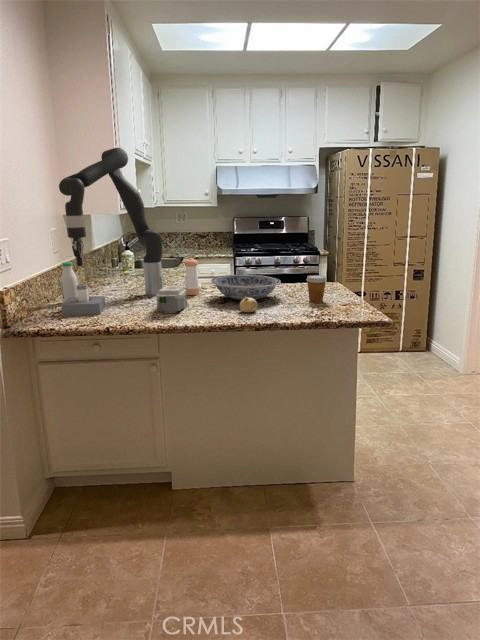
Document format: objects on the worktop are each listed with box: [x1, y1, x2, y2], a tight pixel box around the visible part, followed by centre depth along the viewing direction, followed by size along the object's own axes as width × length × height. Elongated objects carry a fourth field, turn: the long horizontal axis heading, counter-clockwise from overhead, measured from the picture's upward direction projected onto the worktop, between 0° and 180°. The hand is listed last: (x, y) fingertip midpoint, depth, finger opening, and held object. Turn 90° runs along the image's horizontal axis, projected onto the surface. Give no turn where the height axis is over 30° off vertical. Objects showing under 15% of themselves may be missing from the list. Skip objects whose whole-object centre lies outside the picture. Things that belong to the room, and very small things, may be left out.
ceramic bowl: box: [210, 274, 282, 301], centre depth 227 cm, size 34×34×10 cm
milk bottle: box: [60, 261, 79, 304], centre depth 224 cm, size 8×8×20 cm
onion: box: [239, 297, 259, 313], centre depth 201 cm, size 8×8×7 cm
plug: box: [76, 283, 90, 302], centre depth 207 cm, size 4×4×12 cm
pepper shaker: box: [183, 257, 200, 296], centre depth 239 cm, size 7×7×19 cm
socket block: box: [61, 295, 106, 317], centre depth 208 cm, size 16×16×5 cm
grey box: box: [155, 285, 188, 314], centre depth 209 cm, size 12×28×10 cm, turn 179°
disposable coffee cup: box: [305, 274, 327, 304], centre depth 218 cm, size 10×10×12 cm
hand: (80, 265), depth 203 cm, fingers closed
